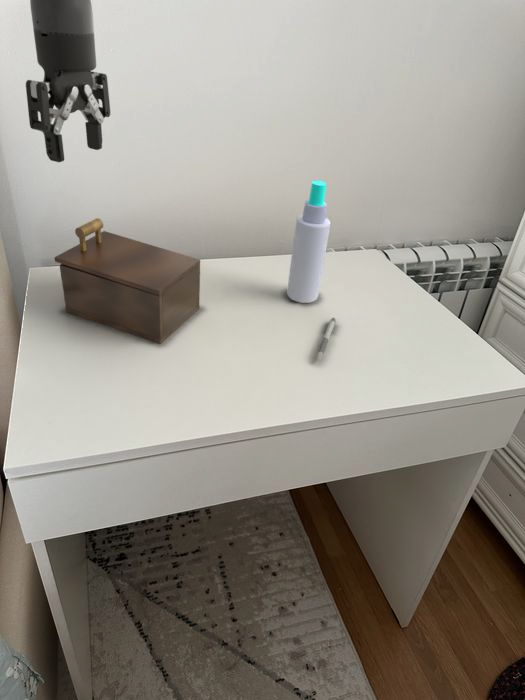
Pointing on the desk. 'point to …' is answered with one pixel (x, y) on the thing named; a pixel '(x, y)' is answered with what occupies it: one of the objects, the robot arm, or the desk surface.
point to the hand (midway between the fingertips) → (76, 154)
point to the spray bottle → (309, 247)
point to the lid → (126, 260)
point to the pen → (325, 339)
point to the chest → (131, 303)
